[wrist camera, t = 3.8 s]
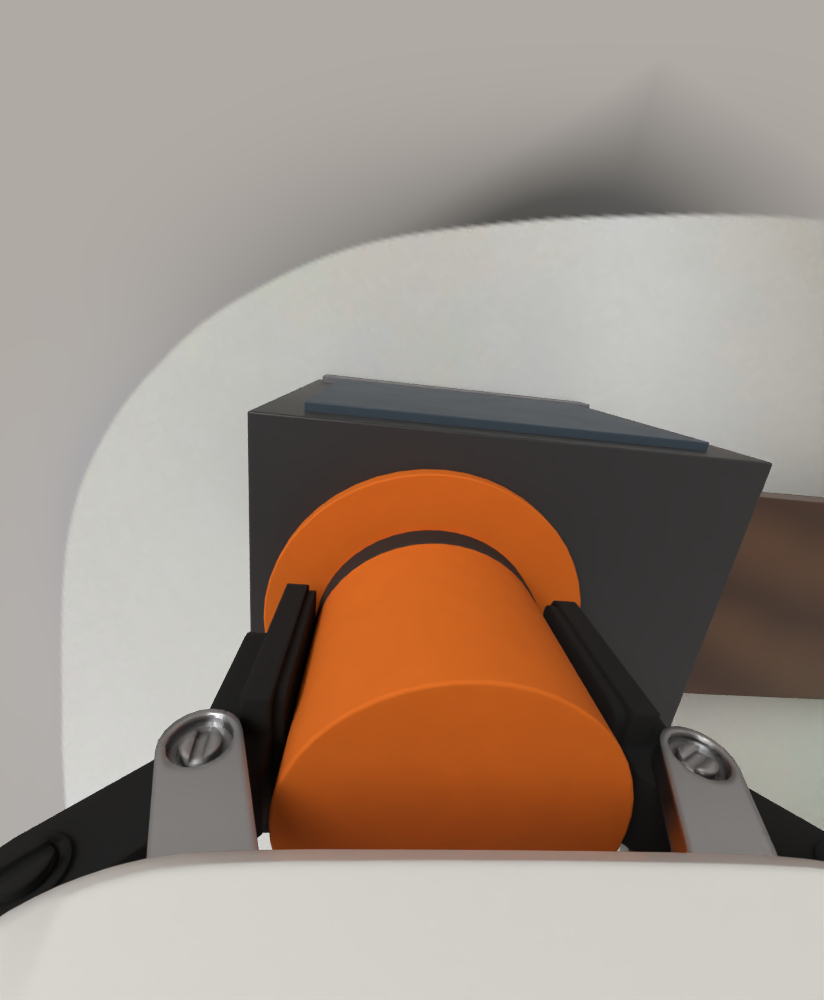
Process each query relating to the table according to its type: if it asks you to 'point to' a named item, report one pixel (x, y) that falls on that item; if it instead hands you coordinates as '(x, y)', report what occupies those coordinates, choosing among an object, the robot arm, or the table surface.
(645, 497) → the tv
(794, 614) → the stand
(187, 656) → the table surface
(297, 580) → the hat
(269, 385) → the table surface
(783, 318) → the table surface
